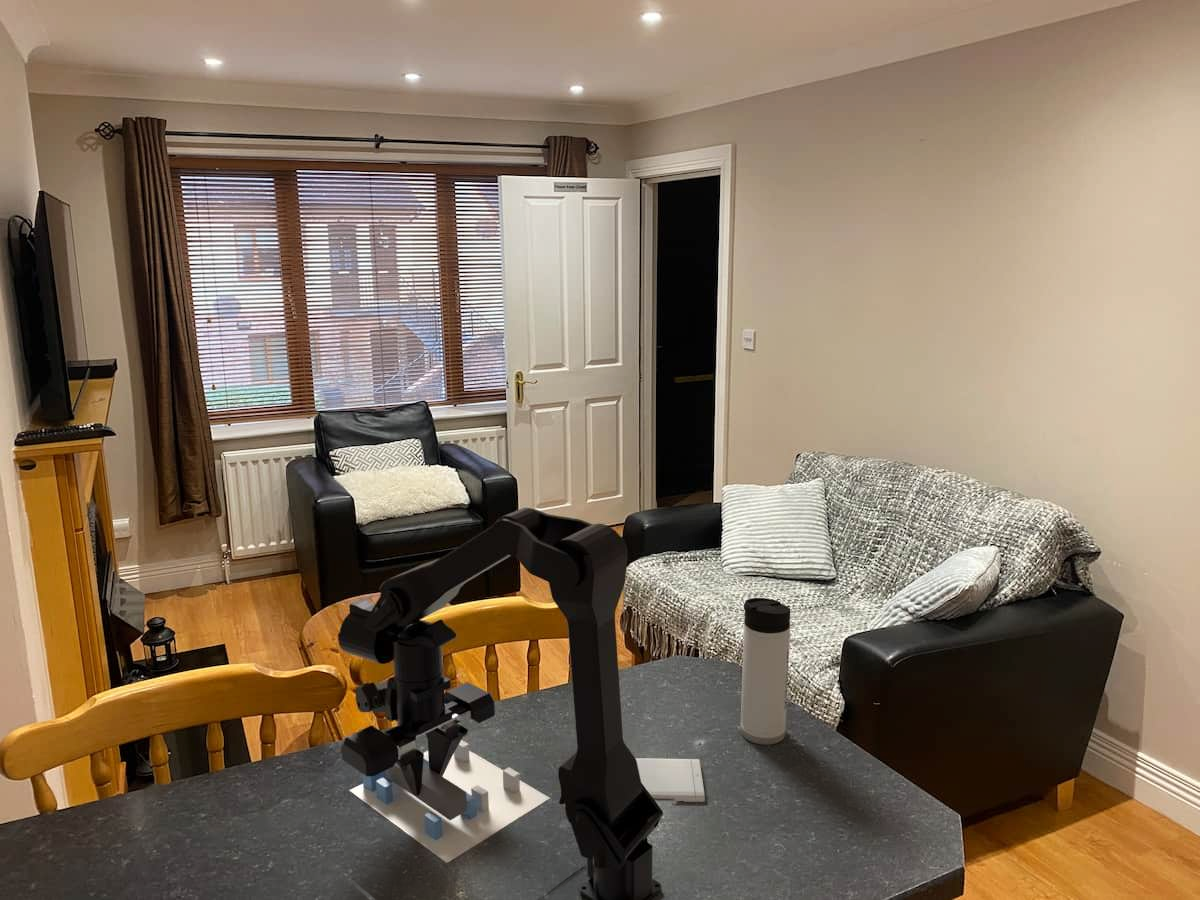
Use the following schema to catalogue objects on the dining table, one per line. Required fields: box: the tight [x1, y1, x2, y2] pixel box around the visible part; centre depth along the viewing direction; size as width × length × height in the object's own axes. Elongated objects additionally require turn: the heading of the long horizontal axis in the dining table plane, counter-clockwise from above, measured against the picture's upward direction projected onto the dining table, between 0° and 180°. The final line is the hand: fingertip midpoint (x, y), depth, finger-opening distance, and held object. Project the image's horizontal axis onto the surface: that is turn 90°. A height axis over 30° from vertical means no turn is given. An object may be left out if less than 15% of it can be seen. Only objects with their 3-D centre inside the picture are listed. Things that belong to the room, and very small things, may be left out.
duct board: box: [348, 739, 551, 864], centre depth 110 cm, size 20×16×4 cm
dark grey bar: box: [386, 763, 467, 820], centre depth 107 cm, size 13×2×2 cm, turn 47°
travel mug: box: [740, 597, 791, 746], centre depth 122 cm, size 6×7×20 cm
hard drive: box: [635, 757, 706, 803], centre depth 113 cm, size 2×8×12 cm
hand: (425, 788), depth 107 cm, fingers closed on dark grey bar, 2 cm apart
